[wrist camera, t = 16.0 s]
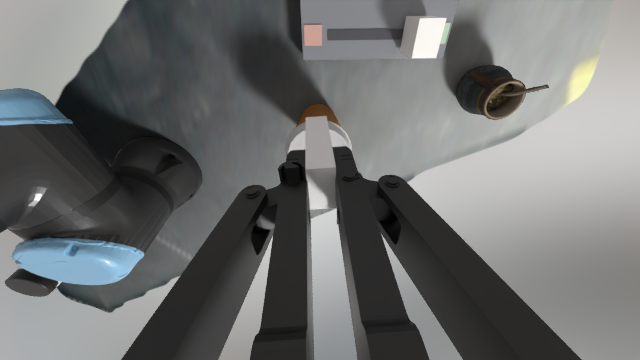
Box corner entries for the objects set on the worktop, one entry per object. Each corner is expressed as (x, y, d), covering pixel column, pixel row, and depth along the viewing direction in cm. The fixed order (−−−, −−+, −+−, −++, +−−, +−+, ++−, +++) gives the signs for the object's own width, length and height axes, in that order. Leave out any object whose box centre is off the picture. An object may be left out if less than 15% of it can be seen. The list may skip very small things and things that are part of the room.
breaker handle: (399, 51, 32) (411, 58, 28) (406, 16, 30) (419, 18, 26) (421, 51, 32) (436, 57, 28) (429, 15, 30) (446, 17, 26)
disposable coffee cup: (284, 102, 40) (274, 133, 30) (338, 87, 38) (345, 115, 29) (300, 149, 45) (296, 188, 36) (348, 137, 44) (357, 175, 34)
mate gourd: (441, 88, 39) (475, 109, 31) (485, 48, 35) (535, 60, 27) (463, 115, 42) (499, 140, 34) (506, 80, 38) (557, 100, 30)
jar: (87, 257, 66) (48, 300, 56) (51, 247, 63) (4, 290, 53) (91, 242, 62) (51, 285, 52) (54, 229, 59) (3, 273, 49)
